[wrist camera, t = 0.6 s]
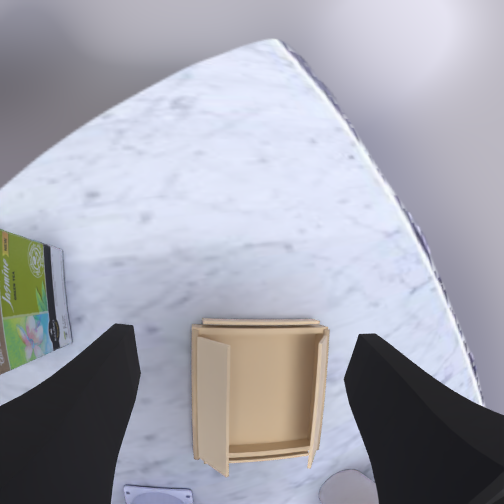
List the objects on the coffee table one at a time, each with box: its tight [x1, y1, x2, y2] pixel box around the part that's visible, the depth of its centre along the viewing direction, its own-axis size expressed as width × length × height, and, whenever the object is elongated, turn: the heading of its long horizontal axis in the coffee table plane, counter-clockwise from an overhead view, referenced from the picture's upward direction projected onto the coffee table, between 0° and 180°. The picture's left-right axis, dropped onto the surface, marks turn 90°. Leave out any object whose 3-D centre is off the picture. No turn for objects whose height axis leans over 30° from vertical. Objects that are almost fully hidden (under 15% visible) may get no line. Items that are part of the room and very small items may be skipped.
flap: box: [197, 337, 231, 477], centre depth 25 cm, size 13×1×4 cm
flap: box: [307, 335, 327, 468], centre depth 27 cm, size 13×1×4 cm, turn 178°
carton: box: [191, 318, 330, 464], centre depth 29 cm, size 15×13×3 cm
